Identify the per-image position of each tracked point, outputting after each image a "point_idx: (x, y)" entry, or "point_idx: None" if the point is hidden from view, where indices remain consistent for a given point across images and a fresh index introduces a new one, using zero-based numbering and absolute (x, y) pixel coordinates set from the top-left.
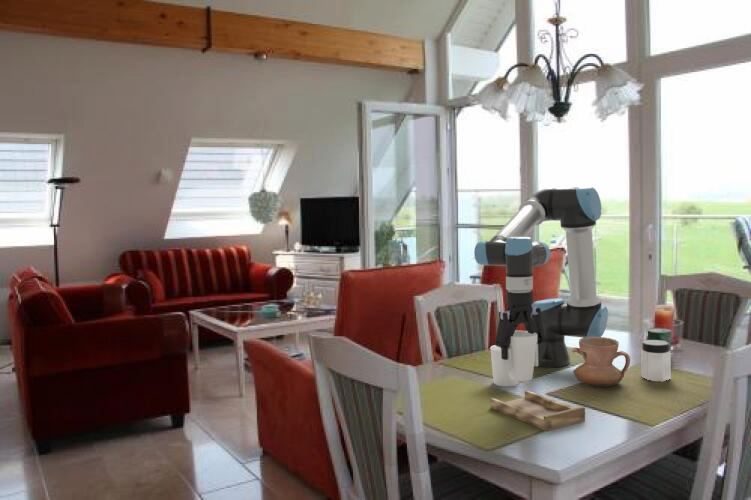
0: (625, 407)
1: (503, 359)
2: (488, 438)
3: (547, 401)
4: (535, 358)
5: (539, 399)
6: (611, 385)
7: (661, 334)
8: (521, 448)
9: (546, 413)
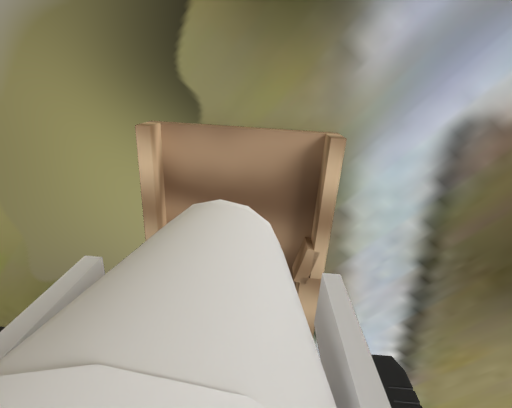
0: (480, 362)
1: (32, 307)
2: (11, 301)
3: (295, 274)
4: (323, 362)
5: (316, 219)
6: None
7: None
8: None
9: None
